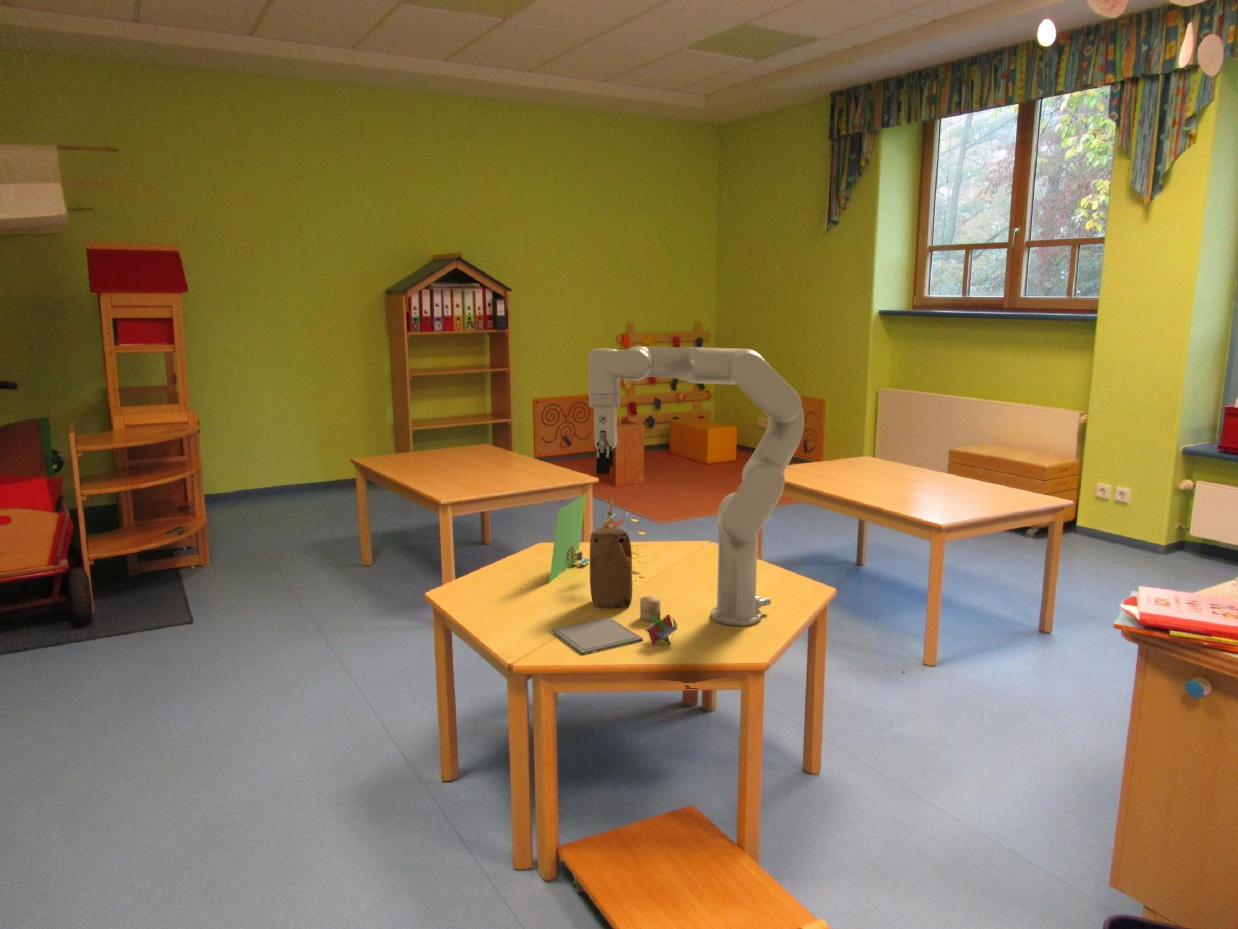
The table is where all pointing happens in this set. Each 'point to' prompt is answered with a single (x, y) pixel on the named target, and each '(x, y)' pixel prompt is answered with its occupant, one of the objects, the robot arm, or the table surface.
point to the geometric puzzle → (661, 629)
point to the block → (610, 568)
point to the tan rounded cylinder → (649, 608)
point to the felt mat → (596, 635)
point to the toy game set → (576, 536)
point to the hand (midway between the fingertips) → (604, 469)
